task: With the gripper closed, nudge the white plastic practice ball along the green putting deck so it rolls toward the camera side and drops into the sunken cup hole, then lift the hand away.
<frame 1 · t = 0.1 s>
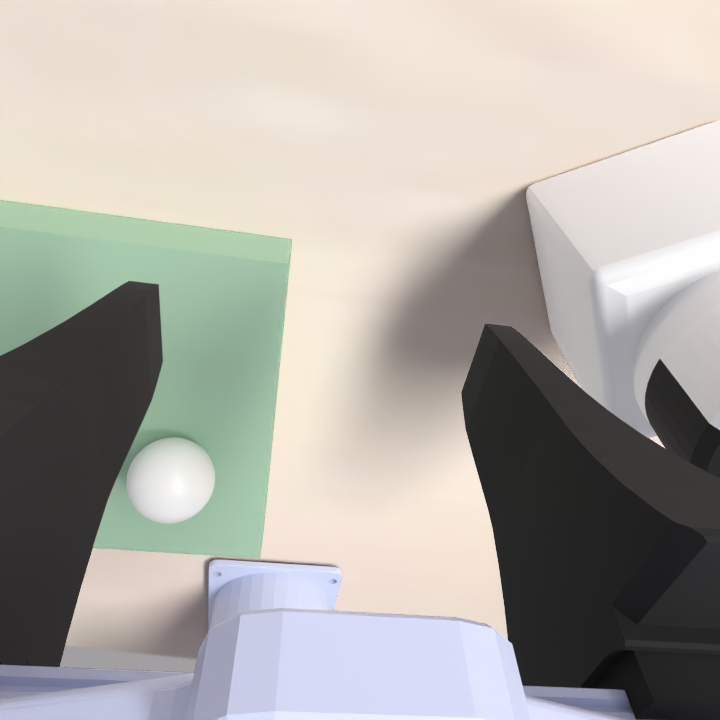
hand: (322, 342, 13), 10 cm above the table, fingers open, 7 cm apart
deck: (55, 390, 26), on the table
medicine bottle: (625, 234, 23), on the table
ball: (171, 479, 24), point 4 cm above the table, touching deck
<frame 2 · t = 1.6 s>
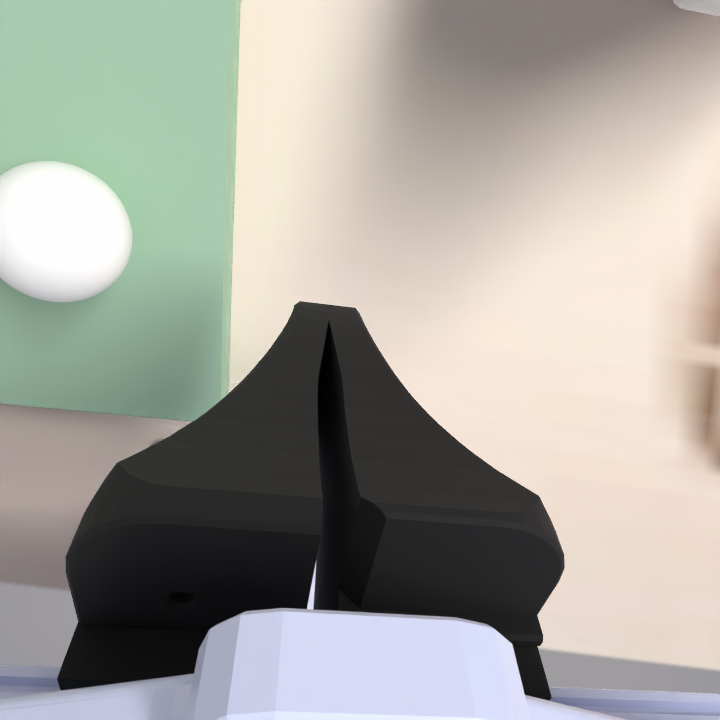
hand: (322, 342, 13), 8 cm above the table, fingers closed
ball: (58, 233, 15), point 4 cm above the table, touching deck
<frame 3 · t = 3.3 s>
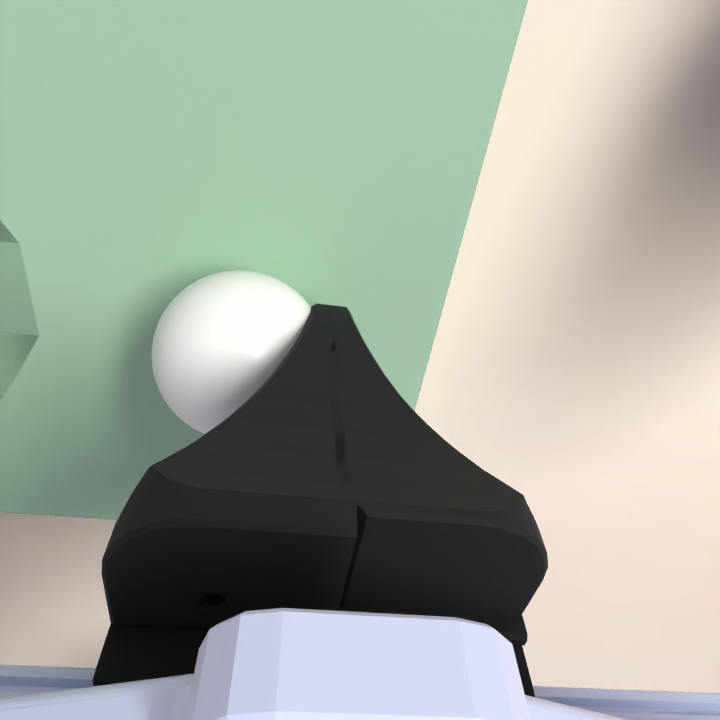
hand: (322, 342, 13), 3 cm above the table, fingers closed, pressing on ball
deck: (36, 213, 14), on the table
ball: (241, 355, 12), point 4 cm above the table, tilted 17°, touching deck, gripper
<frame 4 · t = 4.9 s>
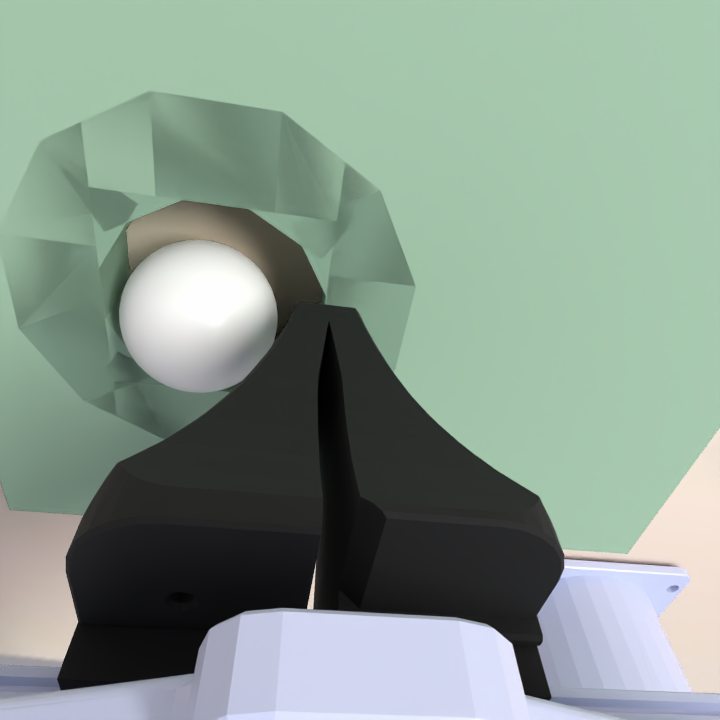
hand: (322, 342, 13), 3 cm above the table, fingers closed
deck: (386, 252, 15), on the table
ball: (201, 316, 14), point 2 cm above the table, tilted 23°
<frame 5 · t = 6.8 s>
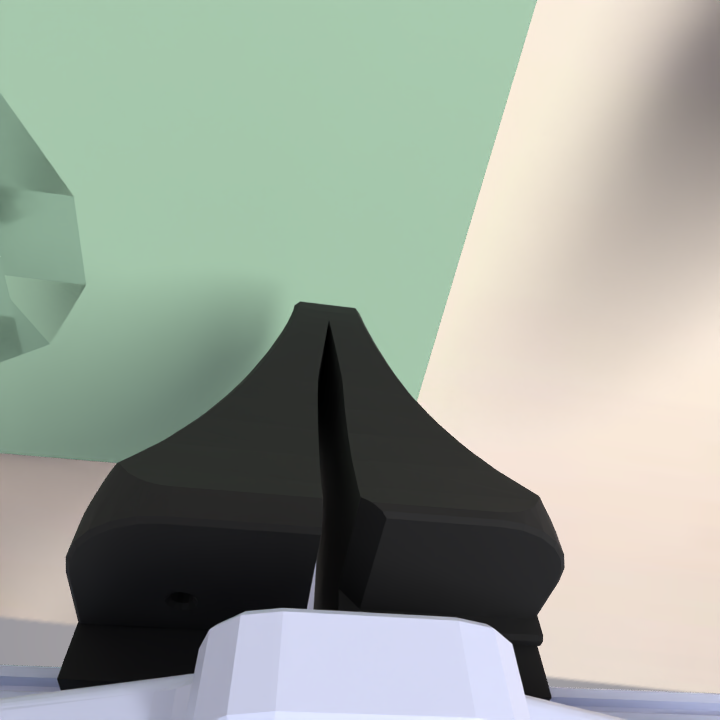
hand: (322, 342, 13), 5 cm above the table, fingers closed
deck: (82, 172, 15), on the table
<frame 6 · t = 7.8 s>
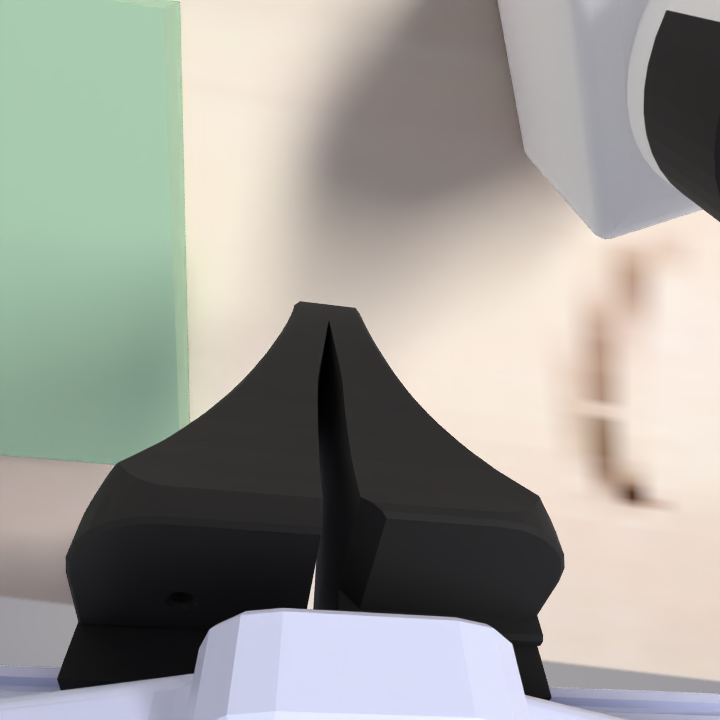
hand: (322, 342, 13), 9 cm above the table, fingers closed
medicine bottle: (617, 3, 17), on the table
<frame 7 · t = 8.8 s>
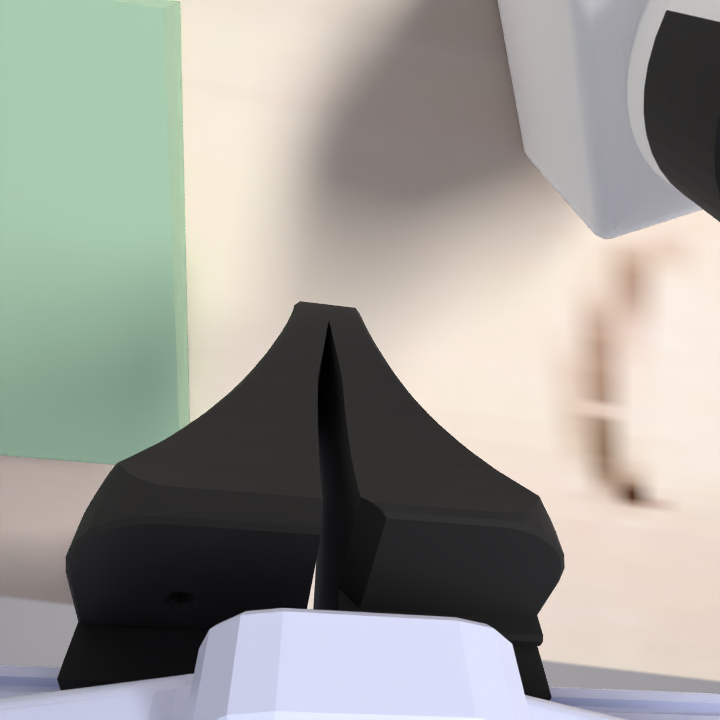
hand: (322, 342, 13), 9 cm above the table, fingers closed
medicine bottle: (617, 3, 17), on the table
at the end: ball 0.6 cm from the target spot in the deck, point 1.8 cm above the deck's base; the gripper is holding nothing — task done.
